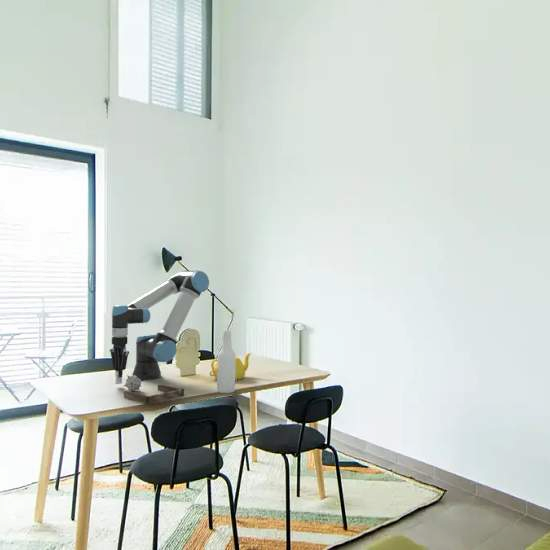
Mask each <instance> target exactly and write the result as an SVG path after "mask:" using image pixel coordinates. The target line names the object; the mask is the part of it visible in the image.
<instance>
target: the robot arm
mask: <svg viewBox="0 0 550 550" xmlns="http://www.w3.org/2000/svg"><path fill="white" fill-rule="evenodd" d="M209 286H210V279H209V277H208V275H207V273H205V272H204V271H202V270H183V271H180V272H178V273H176V274H175V275H173V276H170V277H169V278H168V279H166V281H165V282H164V283H162V284H161V285H159V286H158V287H156V288H153V289H152V290H151V291H148V293H145V294H144V295H142V296H141V297H139V298H137V299H136V300H134V301H132V302H131V303H128V304H127V305H126V304H117V305H113V306H112V312H111V319H112V320H111V336H112V337H111V345H113V346H112V348H111V349H109V352H110V357H111V365H112V366H111V367H112V369H113V370H114V371H115V373H114V375H115V384H116V385H121V384H122V383H123V374H124V373H123V371H124V370H126V369H127V363H128V357H129V354H130V351H128V350H127V347H126V345H127V344H128V336H129V335H128V334H129V333H128V332H129V331H128V330H129V329H128V327H129V325H130V324H132V325H133V324H145V323H146V324H147V323H149V321H150V319H151V311H150V310H149V309H150V308H152V307H155V305H156V304H159V303H161V302H162V301H163V300H165V299H167V298H168V297H170V296H172V295H176V294H178V293H180V294H179V295H178V298H177V300H176V302H175V304H174V306H173V307H172V310H171V311H170V313H169V315H168V317H167V320H166V321H165V323H164V325H163V327H162V329H161V331H158V332H157V333H156V334H148V335H138V336H137V338H136V342H135V346H136V347H135V348H136V349H135V350H136V351H135V353H136V354H135V355H136V356H135V366H134V369H133V372H132V376H134V375H135V374H136V376H139V377H138V378H140V379H141V380H143V381H144V380H156V379H159V378H161V377H162V371H161V369H160V366H159V363H167V362H170V361H172V360H173V359H174V357H175V356H176V355H177V351H178V350H177V344H178V339H177V337H178V335H179V332H180V331H181V329H182V327H183V324H184V323H185V320H186V318H187V316H188V314H189V312H190V310H191V308H192V306H193V304H194V302H195V300H196V299H197V300H198V299H199V298H200V296H201V294H202V293H204V292H206V291H207V290H208V288H209Z"/></svg>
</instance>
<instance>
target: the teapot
mask: <svg viewBox="0 0 550 550" xmlns="http://www.w3.org/2000/svg"><path fill="white" fill-rule="evenodd" d="M251 355H252V352H249V353H247V354H246V355H245V357H244V360H243V361H244V362H242V360H241V359H240V357H239V356H236V363H235V380H236V379H241V378H242V379H243V378H244V377H245V376H246V371H247V370H248V369H249V358H250V356H251ZM215 362H216V363H215ZM210 363H211V364H210V366H211V371H210V372H209V376H210V377H214V378H215V379H216V380H217V365H218V358H215V359H213V360H212V361H211V362H210ZM214 364H215V365H214ZM242 379H241V380H242ZM236 381H237V380H236Z"/></svg>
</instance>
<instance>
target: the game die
mask: <svg viewBox="0 0 550 550" xmlns="http://www.w3.org/2000/svg"><path fill="white" fill-rule="evenodd" d="M138 377H139V376H136V374H135V375H134V376H133V375H130V376H129V375H127V379H126V382H125V384H124V385H123V387H126V388H128V391H130V392H134V391H137V390H138V391H139V390H140V387H142V382H144V380H142V379H140V378H138Z"/></svg>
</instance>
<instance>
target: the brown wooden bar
mask: <svg viewBox="0 0 550 550" xmlns="http://www.w3.org/2000/svg"><path fill="white" fill-rule="evenodd" d="M158 390H159V391H160V392H162V391H163V392H162V393H156V394H153V395H145V394H141V393H138V392H134V391H133V392H132V391H131V390H124V391H123V398H124V397H125V398H124V399H127V398H128V400H131V401H135V402H138V403H143V404H146V405H150V404H154V403H158V402H164V401H167V400H171V399H177V398H180V397H181V398H182V397H184V396H185V389H184V388H180V387H177V386H171V385H168V384H162V383H157V391H158Z"/></svg>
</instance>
